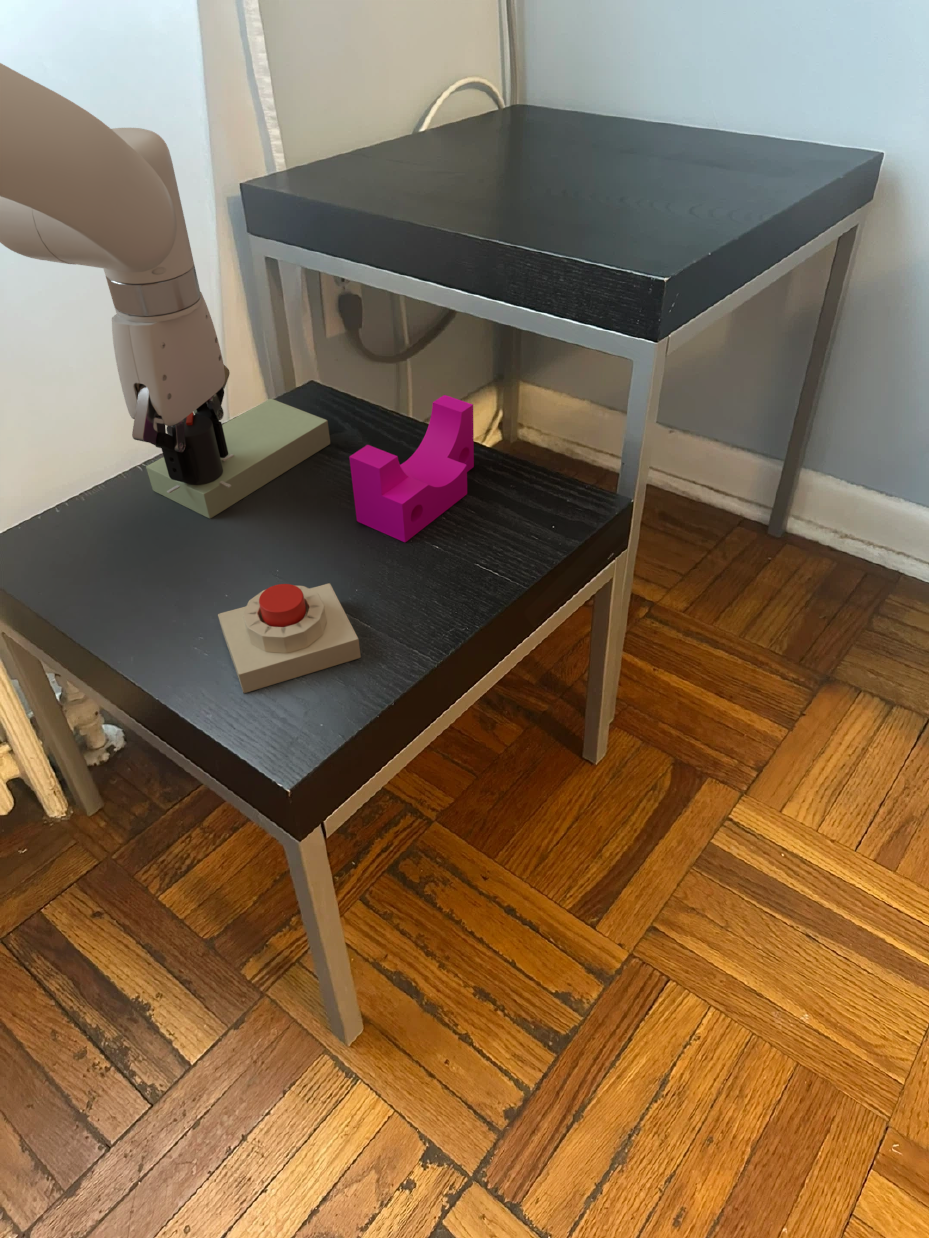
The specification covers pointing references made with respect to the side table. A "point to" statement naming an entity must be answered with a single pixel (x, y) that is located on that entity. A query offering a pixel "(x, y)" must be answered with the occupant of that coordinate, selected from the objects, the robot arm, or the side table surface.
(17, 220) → the robot arm
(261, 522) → the side table surface
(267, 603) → the power button
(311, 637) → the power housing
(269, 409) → the dial panel
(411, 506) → the toy block
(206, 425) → the timer dial
